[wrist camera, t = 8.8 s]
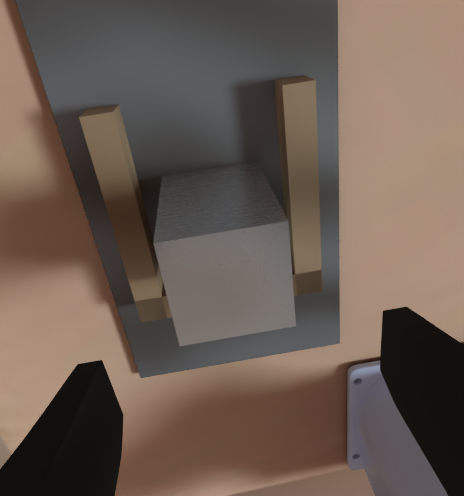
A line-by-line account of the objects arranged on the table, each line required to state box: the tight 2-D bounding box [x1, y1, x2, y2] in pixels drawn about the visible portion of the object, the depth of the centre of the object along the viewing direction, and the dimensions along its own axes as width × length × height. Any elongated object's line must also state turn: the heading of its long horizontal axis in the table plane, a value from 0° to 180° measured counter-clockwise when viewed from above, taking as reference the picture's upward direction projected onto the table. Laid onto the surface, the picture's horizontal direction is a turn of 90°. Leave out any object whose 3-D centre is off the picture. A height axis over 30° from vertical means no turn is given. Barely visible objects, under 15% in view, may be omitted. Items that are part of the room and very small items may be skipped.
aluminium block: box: [153, 161, 296, 346], centre depth 16 cm, size 4×4×6 cm
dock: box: [15, 0, 340, 378], centre depth 17 cm, size 20×11×2 cm, turn 8°
